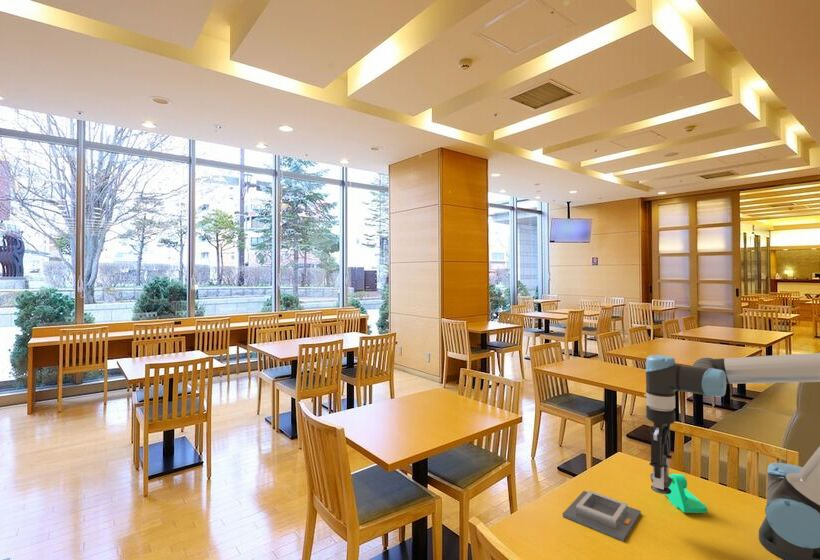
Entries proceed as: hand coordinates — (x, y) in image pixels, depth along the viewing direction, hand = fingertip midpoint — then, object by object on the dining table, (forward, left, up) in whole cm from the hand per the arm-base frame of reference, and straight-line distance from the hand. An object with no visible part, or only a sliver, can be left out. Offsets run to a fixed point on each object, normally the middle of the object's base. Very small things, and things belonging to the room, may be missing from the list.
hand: (661, 483), depth 125 cm
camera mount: (-3, -19, -14) cm, 24 cm away
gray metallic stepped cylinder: (0, 0, -2) cm, 2 cm away
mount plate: (+15, +5, -14) cm, 21 cm away
